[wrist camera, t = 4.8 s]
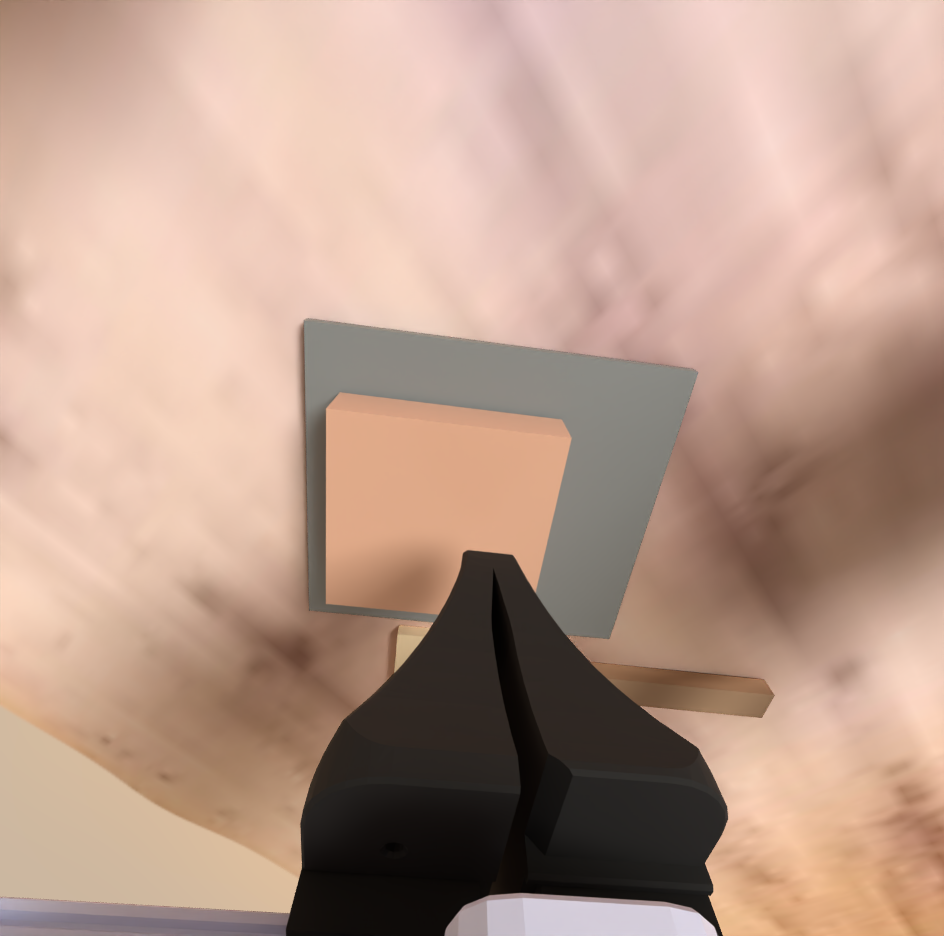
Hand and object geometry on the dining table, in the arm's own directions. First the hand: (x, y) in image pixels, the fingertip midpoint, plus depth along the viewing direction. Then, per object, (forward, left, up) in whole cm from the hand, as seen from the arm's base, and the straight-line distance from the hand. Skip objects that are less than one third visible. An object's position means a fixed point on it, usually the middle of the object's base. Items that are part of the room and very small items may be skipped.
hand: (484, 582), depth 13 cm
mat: (0, 0, -5) cm, 5 cm away
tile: (-2, 0, -3) cm, 4 cm away
